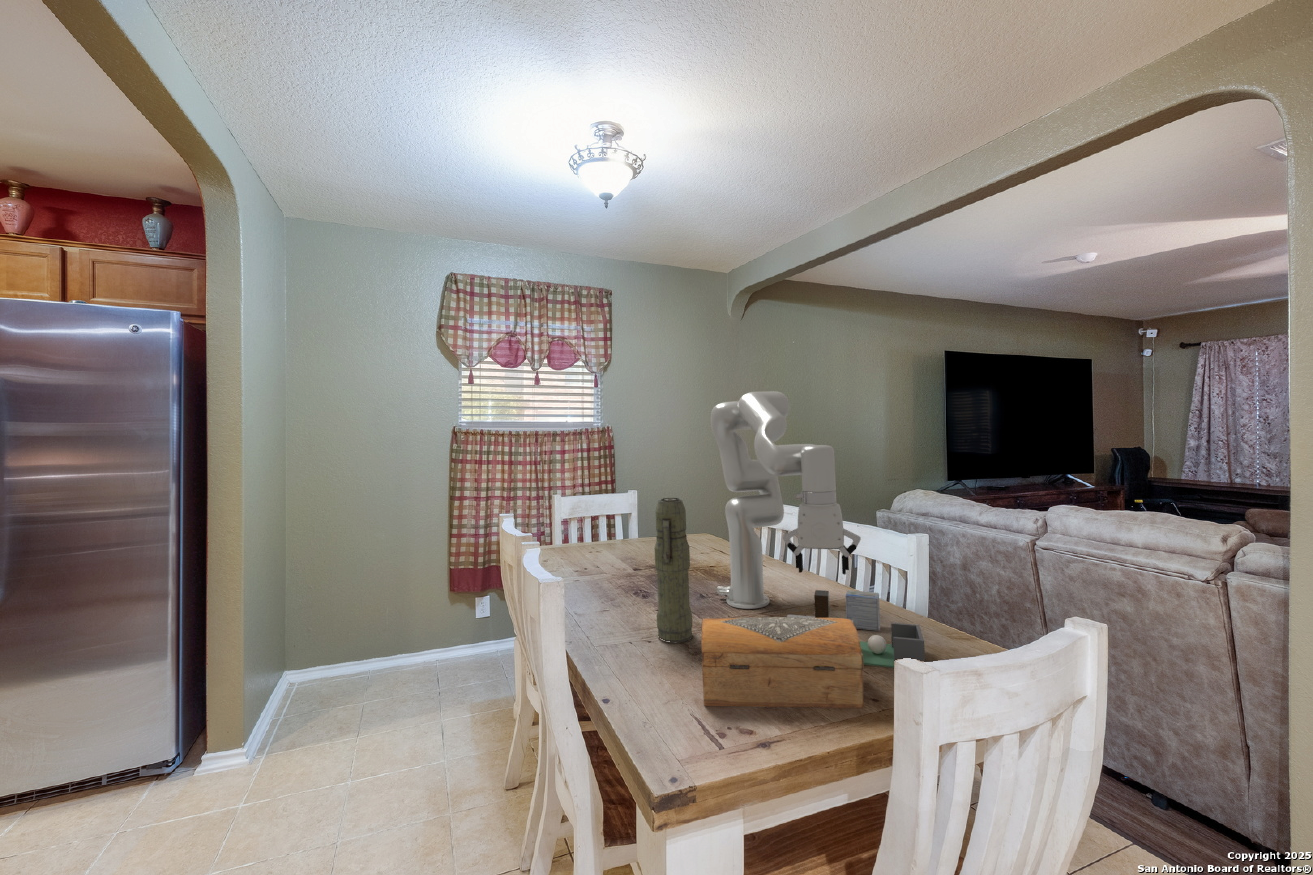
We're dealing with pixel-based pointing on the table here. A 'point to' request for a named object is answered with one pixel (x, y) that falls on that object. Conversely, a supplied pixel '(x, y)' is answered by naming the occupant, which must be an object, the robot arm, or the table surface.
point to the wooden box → (781, 662)
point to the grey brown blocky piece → (819, 605)
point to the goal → (907, 641)
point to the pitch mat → (877, 656)
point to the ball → (877, 644)
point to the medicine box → (863, 609)
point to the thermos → (672, 571)
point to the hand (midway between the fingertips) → (822, 572)
